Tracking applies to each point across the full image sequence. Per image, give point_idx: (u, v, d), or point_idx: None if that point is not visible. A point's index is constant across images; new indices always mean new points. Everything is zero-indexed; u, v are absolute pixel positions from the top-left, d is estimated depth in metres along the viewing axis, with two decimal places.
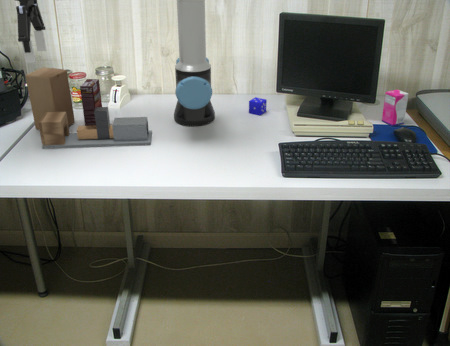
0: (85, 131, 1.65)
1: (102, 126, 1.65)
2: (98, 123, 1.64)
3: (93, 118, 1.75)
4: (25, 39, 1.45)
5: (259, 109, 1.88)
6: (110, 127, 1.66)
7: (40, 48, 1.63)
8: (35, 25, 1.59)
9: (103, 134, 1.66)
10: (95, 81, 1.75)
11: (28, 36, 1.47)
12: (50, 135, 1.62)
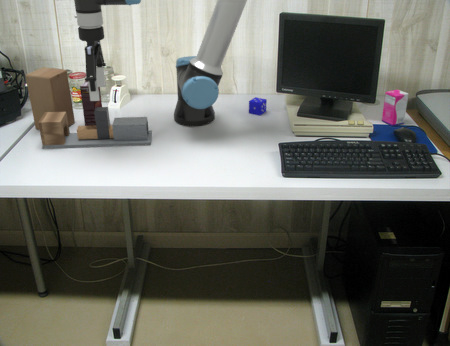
0: (85, 131, 1.65)
1: (102, 126, 1.65)
2: (98, 123, 1.64)
3: (93, 118, 1.75)
4: (92, 79, 1.49)
5: (259, 109, 1.88)
6: (110, 127, 1.66)
7: (100, 84, 1.66)
8: (97, 62, 1.62)
9: (103, 134, 1.66)
10: None
11: (95, 76, 1.50)
12: (50, 135, 1.62)
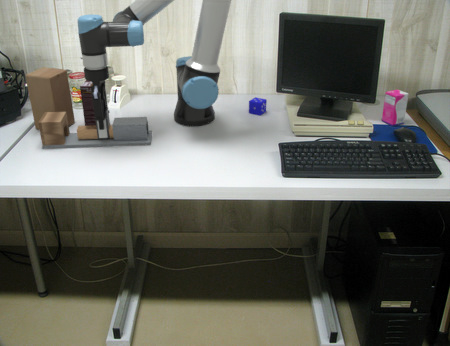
0: (85, 131, 1.65)
1: None
2: None
3: (93, 118, 1.75)
4: (101, 120, 1.60)
5: (259, 109, 1.88)
6: (110, 127, 1.66)
7: None
8: None
9: None
10: None
11: (103, 116, 1.61)
12: (50, 135, 1.62)
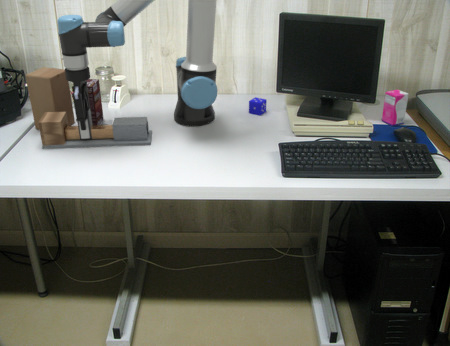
0: (67, 132, 1.65)
1: None
2: None
3: (93, 118, 1.75)
4: (83, 120, 1.60)
5: (259, 109, 1.88)
6: (92, 128, 1.66)
7: None
8: None
9: None
10: (95, 81, 1.75)
11: (84, 117, 1.61)
12: (50, 135, 1.62)
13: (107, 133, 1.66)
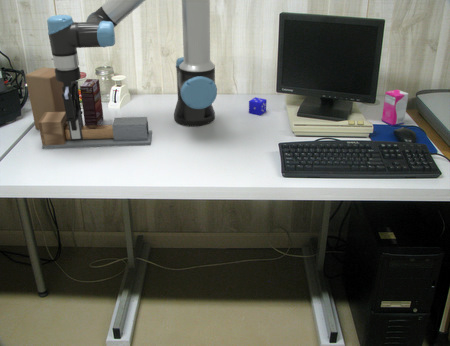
0: None
1: None
2: None
3: (93, 118, 1.75)
4: (73, 120, 1.59)
5: (259, 109, 1.88)
6: (83, 128, 1.66)
7: None
8: None
9: None
10: (95, 81, 1.75)
11: (75, 117, 1.61)
12: (50, 135, 1.62)
13: (98, 133, 1.66)
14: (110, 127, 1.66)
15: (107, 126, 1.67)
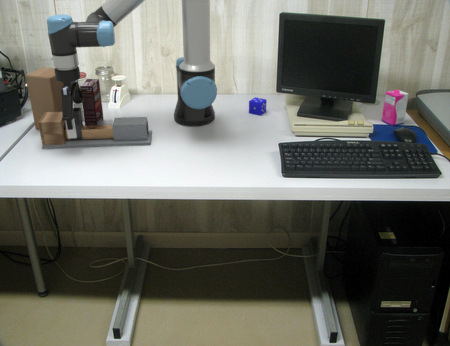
0: None
1: None
2: None
3: (93, 118, 1.75)
4: (69, 119, 1.54)
5: (259, 109, 1.88)
6: (83, 128, 1.66)
7: None
8: (75, 99, 1.68)
9: None
10: (95, 81, 1.75)
11: (71, 115, 1.56)
12: (50, 135, 1.62)
13: (98, 133, 1.66)
14: (110, 127, 1.66)
15: (107, 126, 1.67)
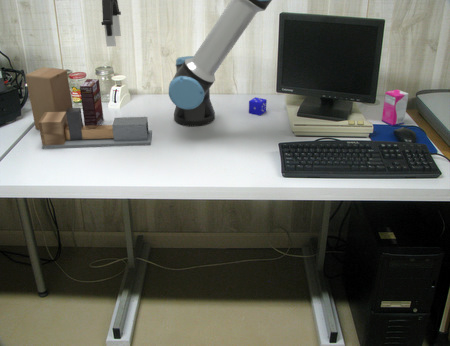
0: None
1: (74, 127, 1.64)
2: (70, 123, 1.63)
3: (93, 118, 1.75)
4: (109, 22, 1.48)
5: (259, 109, 1.88)
6: (83, 128, 1.66)
7: (115, 33, 1.66)
8: None
9: (76, 135, 1.66)
10: (95, 81, 1.75)
11: (111, 19, 1.50)
12: (50, 135, 1.62)
13: (98, 133, 1.66)
14: (110, 127, 1.66)
15: (107, 126, 1.67)
